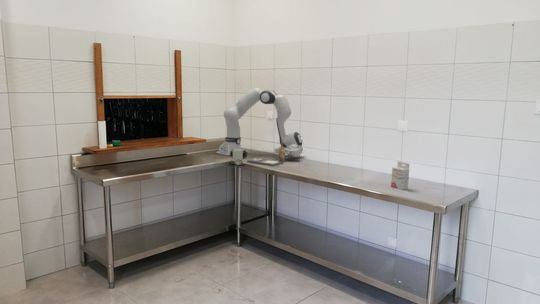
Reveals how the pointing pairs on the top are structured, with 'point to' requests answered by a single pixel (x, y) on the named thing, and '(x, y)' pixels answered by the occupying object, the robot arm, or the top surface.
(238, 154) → the pneumatic valve
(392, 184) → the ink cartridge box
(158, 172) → the top surface
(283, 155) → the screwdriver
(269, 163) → the switch board
